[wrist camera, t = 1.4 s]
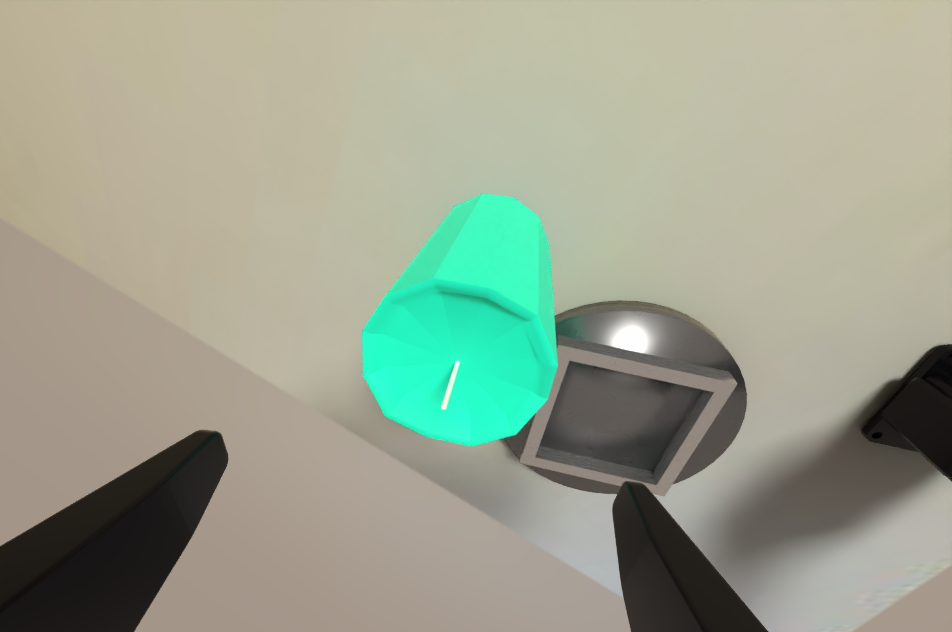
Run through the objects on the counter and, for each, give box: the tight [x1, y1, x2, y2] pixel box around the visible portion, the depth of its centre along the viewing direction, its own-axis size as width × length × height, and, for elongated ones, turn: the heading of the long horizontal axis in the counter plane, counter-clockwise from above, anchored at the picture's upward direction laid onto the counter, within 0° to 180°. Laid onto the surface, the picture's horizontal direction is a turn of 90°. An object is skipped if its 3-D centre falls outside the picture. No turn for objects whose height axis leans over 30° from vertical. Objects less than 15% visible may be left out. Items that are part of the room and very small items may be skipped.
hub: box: [504, 301, 747, 496], centre depth 23 cm, size 14×14×2 cm
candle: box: [362, 194, 558, 446], centre depth 15 cm, size 6×6×12 cm
